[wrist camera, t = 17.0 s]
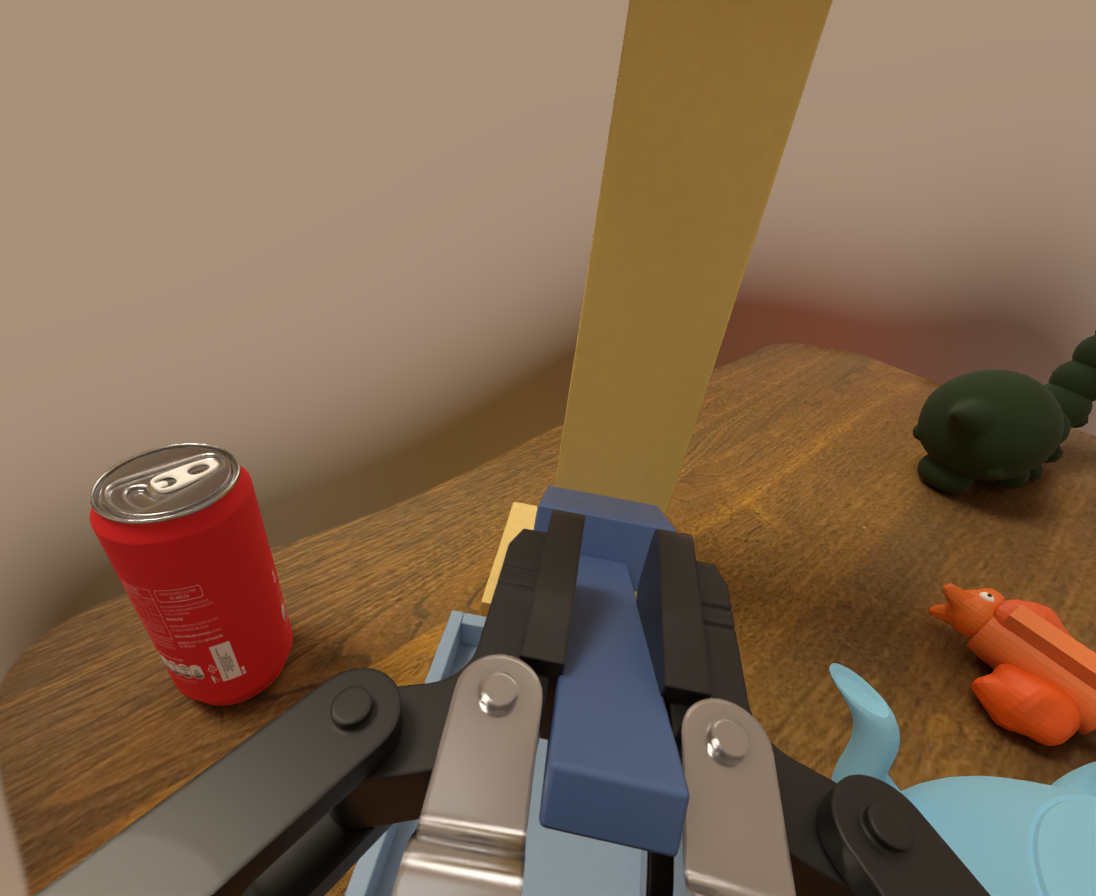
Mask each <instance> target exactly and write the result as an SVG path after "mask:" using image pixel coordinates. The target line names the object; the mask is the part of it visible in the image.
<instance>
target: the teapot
mask: <svg viewBox="0 0 1096 896" xmlns="http://www.w3.org/2000/svg"><path fill="white" fill-rule="evenodd" d="M829 671H830V674H831V677H832V679H833V681H834V683H835V684H836V686H837V688H838V689H839V691H840V693H841V694H842V696H843V697H844V699H845V701H846V703H847V705H848V706H849V708H850V711H851V715H852V719H853V732H852V735H851V738H850V741H849V743H848V745H847V746H846V748H845V750H844V751H843V753H842V755H841V757H840V759H839V761H838V763H837V765H836V767H835V769H834V772H833V775H832V779H831V780H832V781H834V782H836V783H838V782H839V781H840V780H842V779H843V778H844V777H847V776H850V775H857V774H860V775H867V776H871V777H874V778H877V779H879V780H881V781H884V782H885V783H887V784H889V785H891V786H892V787H894V788H895V789H896V790H898V791H899V792H900V793H902V794H903V795H904V796H905V797H906V798H907V799H908V800H910V801H911V803H912V804H913V805H914V806H915V807H916V808H917V809H918V810H919V811H920V813H921V814H922V815H923V816H924V817H925V818H926V820H927V821H928V822H929V823H930V824H931V826H932V827H933V828H934V829H935V830H936V831H937V833H938V834H939V835H940V836H941V837H942V839H943V840H944V841H945V842H946V843H947V844H948V846H949V847H950V848H951V849H952V850H953V852H954V853H955V854H956V855H957V856H958V857H959V859H960V860H961V861H962V862H963V863H964V865H965V866H966V867H967V868H968V869H969V870H970V872H971V873H972V874H973V875H974V876H975V878H976V879H977V880H978V881H979V882H980V883H981V885H982V886H983V887H984V888H985V889H986V891H987V892H988V893H989V894H990V895H991V896H1096V761H1095V762H1092V763H1089V764H1086V765H1084V766H1082V767H1079V768H1077V769H1075V770H1073V771H1071V772H1069V773H1067V774H1066V775H1064V776H1063V777H1061V778H1059V779H1058V780H1056V781H1055V782H1054V783H1053V784H1052V785H1046V784H1041V783H1035V782H1030V781H1024V780H1017V779H1010V778H1001V777H991V776H960V777H947V778H942V779H937V780H932V781H928V782H924V783H920V784H917V785H914V786H912V787H909V788H907V789H905V790H902V791H900V790H899V789H898V787H897V786H896V785H895V784H894V782H893V781H892V780H891V778H890V777H889V775H888V774H887V773H888V771H889V769H890V767H891V765H892V763H893V761H894V759H895V757H896V755H897V752H898V749H899V744H900V731H899V728H898V725H897V722H896V719H895V716H894V714H893V712H892V711H891V709H890V707H889V706H888V704H887V703H886V702H885V701H884V699H883V698H882V697H881V696H880V695H879V694H878V693H877V692H876V691H875V690H874V689H873V688H872V687H871V686H870V685H869V684H868V683H867V682H866V681H865V680H864V679H862V678H861V677H860V676H858V675H857V674H856V673H854V672H853V671H851V670H850V669H848V668H846V667H844V666H843V665H840V664H837V663H833V664H831V665H830V670H829Z"/></svg>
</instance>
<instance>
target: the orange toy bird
mask: <svg viewBox="0 0 1096 896" xmlns="http://www.w3.org/2000/svg"><path fill="white" fill-rule="evenodd" d="M943 593H944V595H945V597H946V599H947V600H948V603H947V604H941V605H934V606H932V607H931V608H930V609H929V614H931V615H933V616H935V617H937V618H939V619H941V620H943V621H945V622H947V623H949V624H950V625H951V626H952V627H953V628H955V629H956V630H957V631H958V632H959V633H961V634H962V635H964V636H966V637H968V638H971V640H970V641H969V643H968V644H967V645H966V646H967V647H968V648H969V649H971V650H972V651H973V652H975V653H976V654H977V655H976V656H977V657H978V658H980V659H981V660H982V661H984V662H985V663H986V664H988V665H989V666H990V667H991V668H993V669H994V671H993V672H992V673H991V674H989V675H986V676H983V677H979V678H976V679H975V680H974V681H973V683H972V684H971V689H972V690H973V692H974V693H975V695H976V696H977V698H978V699H979V701H980V702H981V704H982V705H983V707H984V708H985V709H986V710H987V712H988V714H989V715H990V717H991V718H992V720H993V721H994V723H996V724H997V725H999V726H1001V727H1002V728H1004V729H1006V730H1009V731H1013V732H1016V733H1019V734H1022V735H1025V736H1028V737H1029V738H1031V739H1033V740H1034V741H1036V742H1038V743H1041V744H1043V745H1049V746H1055V745H1060V744H1062V743H1064V742H1065V741H1067V740H1068V739H1069V738H1070V737H1071V736H1073V735H1074V734H1075V732H1076V731H1079V732H1080V733H1081V734H1083V735H1086V734H1088V733H1090V732H1092V731H1093V730H1096V653H1095V652H1093V651H1092V650H1090V649H1088V648H1087V647H1085V646H1084V645H1082V644H1081V643H1079V642H1078V641H1076V640H1075V639H1073V638H1072V637H1071V635H1070V634H1069V633H1068V631H1067V630H1066V629H1065V627H1064V626H1063V624H1062V622H1061V621H1060V619H1059V617H1058V616H1057V615H1056V614H1055V612H1054V611H1053V610H1052V609H1051V608H1048V607H1046V606H1044V605H1041V604H1038V603H1033V602H1028V601H1023V600H1018V599H1011V600H1004V597H1003V596H1002V595H1001V594H1000V593H999V592H997V591H995V590H993V589H991V588H983V589H979V590H965V591H964V590H962V589H960V588H959V587H957V586H955V585H952V584H950V583H949V584H946V585H945V586H944V587H943Z"/></svg>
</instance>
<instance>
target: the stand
mask: <svg viewBox="0 0 1096 896" xmlns="http://www.w3.org/2000/svg"><path fill="white" fill-rule="evenodd" d="M831 3H832V0H630V1H629V9H628V15H627V21H626V27H625V34H624V40H623V47H622V53H621V59H620V66H619V72H618V79H617V86H616V93H615V98H614V105H613V111H612V118H611V124H610V131H609V137H608V144H607V150H606V157H605V163H604V169H603V176H602V182H601V189H600V195H599V202H598V208H597V214H596V221H595V227H594V234H593V240H592V247H591V254H590V260H589V266H588V273H587V280H586V286H585V292H584V298H583V305H582V311H581V318H580V325H579V331H578V338H577V344H576V350H575V356H574V363H573V369H572V376H571V382H570V389H569V395H568V402H567V408H566V415H565V422H564V428H563V434H562V440H561V447H560V453H559V460H558V466H557V473H556V479H555V486H554V487H560V488H565V489H570V490H576V491H581V492H586V493H592V494H597V495H603V496H608V497H613V498H619V499H624V500H629V501H635V502H640V503H645V504H651V505H656V506H657V507H658V508H659V509H660V510H661V511H662V513H663V514H664V515H665V516H666V513H667V510H668V507H669V503H670V500H671V497H672V494H673V491H674V488H675V485H676V482H677V479H678V476H679V473H680V469H681V466H682V463H683V460H684V457H685V454H686V451H687V448H688V445H689V442H690V439H691V436H692V432H693V429H694V426H695V423H696V420H697V417H698V414H699V411H700V408H701V405H702V402H703V399H704V395H705V392H706V389H707V386H708V383H709V380H710V377H711V374H712V371H713V368H714V364H715V361H716V358H717V355H718V352H719V349H720V346H721V343H722V340H723V337H724V334H725V331H726V327H727V324H728V321H729V318H730V315H731V312H732V309H733V306H734V302H735V300H736V296H737V294H738V290H739V287H740V284H741V281H742V278H743V275H744V272H745V269H746V266H747V263H748V260H749V257H750V253H751V250H752V247H753V244H754V241H755V238H756V235H757V232H758V229H759V226H760V223H761V219H762V216H763V213H764V210H765V207H766V204H767V201H768V198H769V195H770V192H771V189H772V186H773V182H774V179H775V176H776V173H777V170H778V167H779V164H780V161H781V158H782V155H783V151H784V148H785V146H786V142H787V139H788V136H789V133H790V130H791V127H792V124H793V121H794V118H795V115H796V112H797V108H798V105H799V102H800V99H801V96H802V93H803V90H804V87H805V84H806V80H807V78H808V74H809V71H810V68H811V65H812V62H813V59H814V56H815V53H816V50H817V47H818V44H819V41H820V38H821V34H822V31H823V28H824V25H825V22H826V19H827V15H828V13H829V10H830V7H831ZM537 507H538V506H533V505H528V504H523V503H517V502H513V505H512V508H511V511H510V514H509V517H508V520H507V523H506V526H505V529H504V533H503V536H502V539H501V542H500V545H499V548H498V551H497V554H496V557H495V560H494V563H493V566H492V569H491V572H490V576H489V579H488V582H487V585H486V588H485V591H484V594H483V597H482V600H481V610H480V616H484V617H487V614H488V611H489V607H490V604H491V601H492V597H493V594H494V591H495V588H496V584H497V582H498V578H499V575H500V571H501V568H502V566H503V561H504V558H505V555H506V552H507V548H508V545H509V543H510V542H511V541H512V540H513V539H514V538H515V537H516V536H517V535H518V534H519V533H520V532H521V531H522V530H523V529H524V528H525V529H530V530H533V529H534V524H535V518H536V512H537ZM634 593H635V596H636V597H637V592H634Z"/></svg>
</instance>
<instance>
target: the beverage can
mask: <svg viewBox="0 0 1096 896" xmlns="http://www.w3.org/2000/svg"><path fill="white" fill-rule="evenodd" d="M89 498H90V504H91V506H92V508H91V512H90V522H91V525H92V527H93V530H94V531H95V533H96V535H97V537H98V539H99V541H100V543H101V545H102V547H103V549H104V550H105V552H106V554H107V556H108V558H109V560H110V562H111V564H112V566H113V568H114V569H115V571H116V573H117V575H118V577H119V579H120V581H121V583H122V585H123V587H124V588H125V590H126V592H127V594H128V596H129V598H130V600H131V602H132V604H133V606H134V607H135V609H136V611H137V613H138V615H139V617H140V619H141V621H142V623H143V625H144V626H145V628H146V630H147V632H148V634H149V636H150V638H151V640H152V642H153V644H154V646H155V647H156V649H157V651H158V653H159V655H160V657H161V659H162V661H163V663H164V665H165V666H166V668H167V670H168V672H169V674H170V676H171V678H172V680H173V682H174V683H175V685H176V687H177V688H178V690H179V691H180V692H181V693H183V694H184V695H185V696H187V697H189V698H191V699H194V700H198V701H200V702H202V703H204V704H207V705H211V706H231V705H235V704H239V703H242V702H245V701H247V700H250V699H252V698H254V697H255V696H257V695H259V694H260V693H262V692H263V691H265V690H266V689H267V688H268V687H269V686H270V685H272V684H273V683H274V681H275V680H276V679H277V678H278V677H279V675H280V674H281V672H282V671H283V669H284V667H285V664H286V661H287V657H288V655H289V653H290V650H291V647H292V642H293V633H292V628H291V625H290V621H289V617H288V613H287V610H286V606H285V602H284V599H283V595H282V591H281V587H280V584H279V580H278V576H277V573H276V569H275V565H274V562H273V558H272V554H271V550H270V547H269V543H268V539H267V536H266V532H265V528H264V525H263V521H262V517H261V514H260V510H259V506H258V502H257V499H256V495H255V491H254V487H253V484H252V480H251V477H250V475H249V473H248V472H247V471H246V470H245V469H244V468H243V467H242V466H241V465H240V463H239V461H238V459H237V458H236V456H235V455H234V454H232V453H231V452H230V451H228V450H226V449H223V448H221V447H218V446H214V445H209V444H199V443H181V444H174V445H168V446H163V447H158V448H154V449H151V450H147V451H144V452H141V453H139V454H136V455H134V456H131V457H129V458H127V459H125V460H123V461H121V462H119V463H117V464H116V465H114V466H113V467H111V468H110V469H108V470H107V471H106V472H105V473H104V474H102V475H101V476H100V477H99V478H98V479H97V481H96V482H95V483H94V485H93V487H92V489H91V491H90V497H89Z"/></svg>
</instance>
